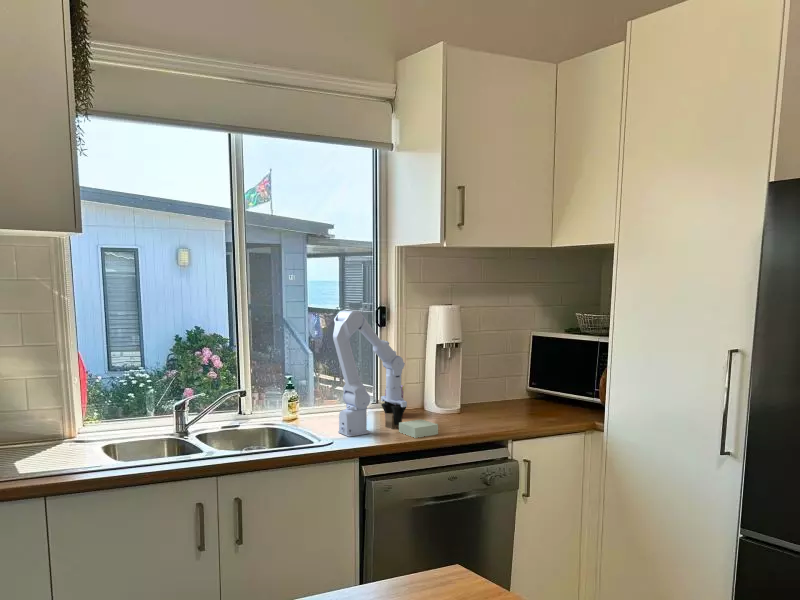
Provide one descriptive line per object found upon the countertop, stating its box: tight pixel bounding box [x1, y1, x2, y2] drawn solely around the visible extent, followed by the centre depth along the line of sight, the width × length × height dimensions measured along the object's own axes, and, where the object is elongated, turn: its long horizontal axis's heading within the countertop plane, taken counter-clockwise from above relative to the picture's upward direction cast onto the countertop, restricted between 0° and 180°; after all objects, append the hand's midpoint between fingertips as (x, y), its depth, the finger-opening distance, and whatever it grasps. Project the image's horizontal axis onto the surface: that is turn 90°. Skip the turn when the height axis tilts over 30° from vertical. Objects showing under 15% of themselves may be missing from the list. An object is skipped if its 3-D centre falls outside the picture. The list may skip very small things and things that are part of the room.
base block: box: [398, 419, 439, 439], centre depth 214 cm, size 10×10×4 cm
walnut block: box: [384, 412, 403, 430], centre depth 224 cm, size 4×4×5 cm
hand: (393, 423), depth 224 cm, fingers closed on walnut block, 4 cm apart
